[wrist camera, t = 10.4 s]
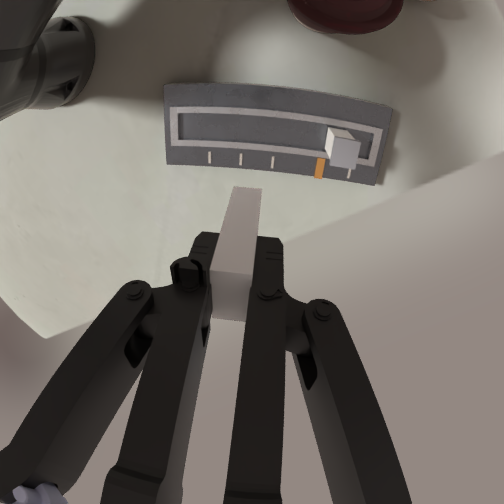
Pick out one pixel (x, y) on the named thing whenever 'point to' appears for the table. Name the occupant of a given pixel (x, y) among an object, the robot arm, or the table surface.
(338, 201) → the table surface
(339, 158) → the fader knob
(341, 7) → the coffee cup
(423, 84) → the table surface
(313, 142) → the console
